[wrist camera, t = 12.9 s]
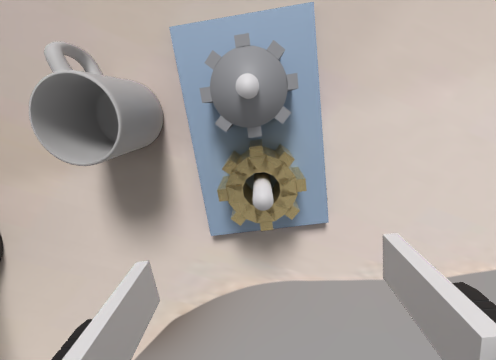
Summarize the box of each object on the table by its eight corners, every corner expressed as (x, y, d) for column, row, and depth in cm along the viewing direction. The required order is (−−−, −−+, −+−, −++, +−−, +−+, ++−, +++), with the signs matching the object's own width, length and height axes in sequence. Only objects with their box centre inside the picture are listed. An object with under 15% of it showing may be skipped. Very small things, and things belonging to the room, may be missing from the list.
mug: (175, 132, 35) (139, 145, 24) (120, 158, 36) (62, 181, 25) (128, 39, 32) (64, 6, 21) (69, 70, 33) (-19, 54, 22)
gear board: (212, 230, 38) (196, 276, 28) (173, 30, 31) (133, -5, 21) (325, 217, 37) (351, 260, 27) (310, 6, 30) (337, -43, 20)
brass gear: (230, 215, 36) (225, 235, 31) (217, 145, 33) (210, 152, 28) (302, 207, 35) (309, 225, 30) (294, 134, 33) (302, 140, 27)
